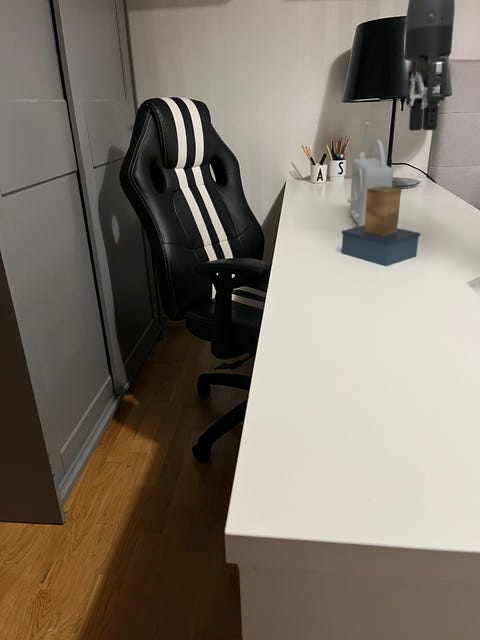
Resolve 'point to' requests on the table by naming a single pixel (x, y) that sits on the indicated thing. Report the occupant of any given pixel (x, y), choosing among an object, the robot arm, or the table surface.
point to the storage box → (380, 245)
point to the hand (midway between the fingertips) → (421, 130)
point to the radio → (367, 179)
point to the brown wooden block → (382, 210)
